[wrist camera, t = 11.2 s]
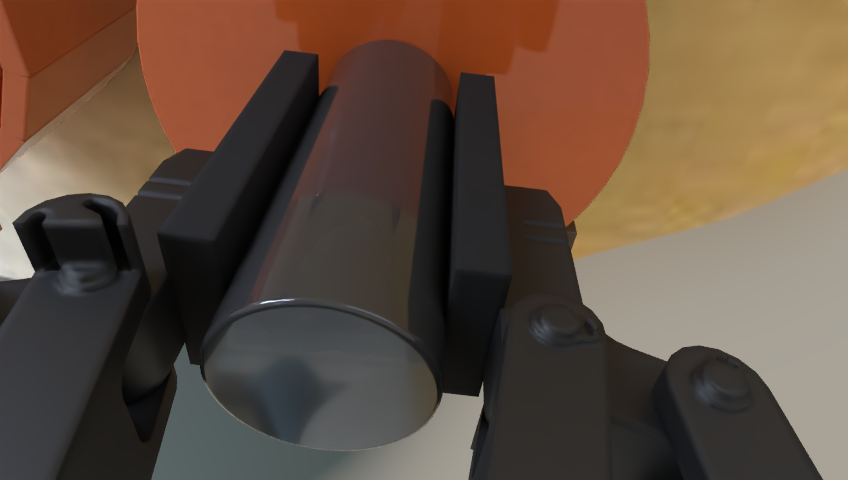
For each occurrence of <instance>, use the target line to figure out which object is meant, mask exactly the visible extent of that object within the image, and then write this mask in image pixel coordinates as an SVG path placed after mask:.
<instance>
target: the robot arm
mask: <svg viewBox="0 0 848 480" xmlns="http://www.w3.org/2000/svg"><path fill="white" fill-rule="evenodd" d="M318 98H319V55H318V54H313V53H305V52H297V51H289V50H284V51H283V53H282V54H281V56H280V57H279V59H278V60H277V61H276V63H275V64H274V66H273V67H272V69H271V70H270V72H269V73H268V74H267V76H266V77H265V79H264V80H263V82H262V83H261V84H260V86H259V87H258V89H257V90H256V92H255V93H254V94H253V96H252V97H251V99H250V100H249V102H248V103H247V104H246V106H245V107H244V109H243V110H242V112H241V113H240V115H239V116H238V117H237V119H236V120H235V122H234V123H233V125H232V126H231V127H230V129H229V130H228V132H227V133H226V135H225V136H224V137H223V139H222V140H221V142H220V143H219V145H218V146H217V148H216V149H215V150H214V152H213V151H205V150H197V149H189V148H185V149H184V150H182V151H180V152H178V153H177V154H175V155H173V156H172V157H170V158H168V159H166V160H165V161H163V162H162V163H161V165H160V166H159V167H158V168H157V169H156V171H155V172H154V173H153V174H152V176H151V177H150V180H149V182H148V181H147V182H146V183H145V184H144V185H143V187H142V188H141V189H140V190H139V192H138V196H137V195H135V196H134V198H133V199H132V200H131V201H130V203H129V204H128V205H127V206H126V207H125V206H124V204H123V203H122V202H120V201H118V200H116V199H114V198H112V197H110V196H105V195H98V194H91V193H87V194H73V195H66V196H62V197H58V198H54V199H51V200H47V201H44V202H42V203H40V204H38V205H36V206H34V207H32V208H30V209H28V210H26V211H25V212H24V213H23V214H22V215H21V216H19V217H18V218H17V219H16V220H15V221H14V222H13V225H14V228H15V230H16V232H17V234H18V236H19V238H20V240H21V243H22V245H23V247H24V249H25V251H26V253H27V255H28V258H29V260H30V262H31V264H32V266H33V268H34V270H35V273H34V275H33V276H32V278H27V279H20V280H11V281H2V282H0V480H151V478H152V474H153V471H154V467H155V464H156V460H157V456H158V453H159V449H160V446H161V442H162V439H163V435H164V431H165V428H166V425H167V421H168V417H169V414H170V410H171V407H172V403H173V400H174V396H175V393H176V389H177V375H176V371H175V369H174V365H173V364H174V362H175V361H176V358H177V356H178V355H179V353H180V351H181V348H182V347H183V345H184V343H185V344H186V348H187V352H188V356H189V360H190V364H195V365H200V360H199V358H200V348H201V345H202V341H203V338H204V336H205V334H206V332H207V330H208V328H209V326H210V324H211V322H212V320H213V318H214V316H215V313H216V311H217V309H218V307H219V305H220V303H221V301H222V299H223V297H224V295H225V293H226V290H227V288H228V286H229V284H230V282H231V280H232V278H233V276H234V274H235V272H236V270H237V267H238V265H239V263H240V261H241V259H242V257H243V255H244V253H245V251H246V249H247V247H248V245H249V242H250V240H251V238H252V236H253V234H254V232H255V230H256V228H257V226H258V224H259V222H260V219H261V217H262V215H263V213H264V211H265V209H266V207H267V205H268V203H269V201H270V199H271V197H272V194H273V192H274V190H275V188H276V186H277V184H278V182H279V180H280V178H281V176H282V174H283V171H284V169H285V167H286V165H287V163H288V161H289V159H290V157H291V155H292V153H293V151H294V148H295V146H296V144H297V142H298V140H299V138H300V136H301V134H302V132H303V130H304V128H305V126H306V123H307V121H308V119H309V117H310V115H311V113H312V111H313V109H314V107H315V105H316V103H317V100H318ZM568 243H569V240H568V236H567V231H566V230H565V222H564V218H563V213H562V209H561V207H560V205H559V204H558V203H557V202H556V201H555V199H554V198H553V197H552V196H551V195H550V193H549V192H548V191H547V190H541V189H533V188H525V187H517V186H508V185H504V176H503V165H502V154H501V143H500V133H499V122H498V111H497V100H496V89H495V79H494V76H488V75H480V74H472V73H464V72H461V74H460V80H459V87H458V93H457V100H456V107H455V113H454V122H453V146H452V171H451V195H450V219H449V244H448V268H447V293H446V317H445V353H444V379H443V393H451V394H459V395H468V396H477V397H478V396H479V393H480V390H481V386H482V383H483V391H484V405H483V408H482V412H481V415H480V418H479V421H478V425H477V428H476V432H475V435H474V438H473V442H472V445H471V449H473V456H472V462H471V468H470V474H469V480H823V479H822V477H821V476H820V474H819V472H818V471H817V469H816V467H815V465H814V464H813V462H812V460H811V459H810V457H809V455H808V454H807V452H806V450H805V448H804V447H803V445H802V443H801V442H800V440H799V438H798V437H797V435H796V433H795V432H794V430H793V428H792V426H791V425H790V423H789V421H788V420H787V418H786V416H785V414H784V413H783V411H782V409H781V408H780V406H779V404H778V403H777V401H776V399H775V397H774V396H773V394H772V392H771V391H770V389H769V388H768V386H767V385H766V384H765V383H764V382H763V380H762V379H761V378H760V377H759V375H758V374H757V373H756V372H755V371H754V370H752V369H751V368H750V367H748V366H747V365H746V364H744V363H743V362H742V361H741V360H739V359H738V358H736V357H733V356H731V355H729V354H727V353H725V352H723V351H721V350H719V349H714V348H709V347H704V346H691V347H683V348H681V349H680V350H678V351H677V352H675V353H674V354H672V355H671V357H670V358H669V360H668V361H664V360H662V359H659V358H656V357H653V356H651V355H648V354H646V353H643V352H640V351H638V350H635V349H632V348H630V347H628V346H625V345H623V344H621V343H619V342H617V341H615V340H614V339H612V338H611V337H609V336H608V335H606V334H605V330H604V327H603V324H602V322H601V321H600V320H599V319H598V317H597V316H596V315H595V314H594V313H593V311H592V310H590V309H589V308H588V307H586V306H585V305H583V303H582V298H581V294H580V289H579V285H578V280H577V276H576V271H575V267H574V262H573V258H572V253H571V249H570V245H568Z"/></svg>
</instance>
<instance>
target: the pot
mask: <svg viewBox="0 0 848 480" xmlns="http://www.w3.org/2000/svg"><path fill="white" fill-rule="evenodd" d="M136 4H137V0H0V173H1V172H3V171H4V170H5V169H6V168H7V167H9V166H10V165H11V164H12V163H13V162H15V161H16V160H17V159H18V158H19V157H21V156H22V155H23V154H24V153H25V152H27V151H28V150H29V149H30V148H31V147H33V146H34V145H35V144H36V143H37V142H39V141H40V140H41V139H42V138H43V137H45V136H46V135H47V134H48V133H49V132H51V131H52V130H53V129H54V128H56V127H57V126H58V125H59V124H60V123H62V122H63V121H64V120H65V119H66V118H68V117H69V116H70V115H71V114H72V113H74V112H75V111H76V110H77V109H78V108H80V107H81V106H82V105H83V104H84V103H86V102H87V101H88V100H89V99H90V98H92V97H93V96H94V95H95V94H96V93H98V92H99V91H100V90H101V89H102V88H104V87H105V86H106V84H107V83H108V82H109V81H110V80H111V79H112V78H113V77H114V76H115V75H116V74H117V73H118V72H119V71H120V70H121V69H122V68H123V67H124V66H125V65H126V64H127V62H128V61H129V60H130V58H131V57H132V56H133V54H134V52H135V50H136V48H137V46H138V42H137V14H136ZM1 230H2V227H1V225H0V231H1Z"/></svg>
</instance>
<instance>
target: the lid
mask: <svg viewBox="0 0 848 480" xmlns="http://www.w3.org/2000/svg"><path fill="white" fill-rule="evenodd" d="M136 14H137V42H138V48H139V54H140V61H141V67H142V72H143V76H144V79H145V83H146V86H147V90H148V93H149V96H150V100H151V103H152V105H153V107H154V110H155V112H156V114H157V117H158V119H159V121H160V124H161V126H162V128H163V131H164V132H165V134H166V136H167V138H168V139H169V141H170V143H171V145H172V146H173V148H174V150H175V152H176V153H178V152H180V151H182V150H184V149H185V148H189V149H197V150H205V151H213V152H214V150H215V149H216V148H217V146H218V145H219V143H220V142H221V140H222V139H223V137H224V136H225V135H226V133H227V132H228V130H229V129H230V127H231V126H232V125H233V123H234V122H235V120H236V119H237V117H238V116H239V115H240V113H241V112H242V110H243V109H244V107H245V106H246V104H247V103H248V102H249V100H250V99H251V97H252V96H253V94H254V93H255V92H256V90H257V89H258V87H259V86H260V84H261V83H262V82H263V80H264V79H265V77H266V76H267V74H268V73H269V72H270V70H271V69H272V67H273V66H274V64H275V63H276V61H277V60H278V59H279V57H280V56H281V54H282V53H283V51H284V50H289V51H297V52H305V53H313V54H318V55H319V98H318V100H317V103H316V105H315V107H314V109H313V111H312V113H311V115H310V117H309V119H308V121H307V123H306V126H305V128H304V130H303V132H302V134H301V136H300V138H299V140H298V142H297V144H296V146H295V148H294V151H293V153H292V155H291V157H290V159H289V161H288V163H287V165H286V167H285V169H284V171H283V174H282V176H281V178H280V180H279V182H278V184H277V186H276V188H275V190H274V192H273V194H272V197H271V199H270V201H269V203H268V205H267V207H266V209H265V211H264V213H263V215H262V217H261V219H260V222H259V224H258V226H257V228H256V230H255V232H254V234H253V236H252V238H251V240H250V242H249V245H248V247H247V249H246V251H245V253H244V255H243V257H242V259H241V261H240V263H239V265H238V267H237V270H236V272H235V274H234V276H233V278H232V280H231V282H230V284H229V286H228V288H227V290H226V293H225V295H224V297H223V299H222V301H221V303H220V305H219V307H218V309H217V311H216V313H215V316H214V318H213V320H212V322H211V324H210V326H209V328H208V330H207V332H206V334H205V336H204V338H203V341H202V345H201V348H200V358H199V360H200V369H201V374H202V377H203V380H204V383H205V385H206V386H207V388H208V390H209V392H210V393H211V394H212V396H213V397H214V398H215V400H216V401H217V402H218V403H219V404H220V405H221V406H222V407H223V408H224V409H225V410H226V411H227V412H229V413H230V414H231V415H232V416H233V417H235V418H236V419H238V420H239V421H241V422H242V423H244V424H245V425H247V426H249V427H251V428H253V429H254V430H256V431H258V432H260V433H263V434H265V435H267V436H269V437H273V438H275V439H278V440H280V441H284V442H287V443H291V444H294V445H298V446H303V447H307V448H314V449H320V450H332V451H356V450H366V449H373V448H378V447H383V446H387V445H390V444H393V443H396V442H399V441H401V440H403V439H405V438H407V437H409V436H411V435H413V434H414V433H416V432H418V431H419V430H420V429H421V428H422V427H424V426H425V425H426V424H427V423H428V422H429V420H430V419H431V418H432V417H433V415H434V413H435V412H436V410H437V408H438V406H439V404H440V401H441V398H442V393H443V379H444V353H445V317H446V293H447V268H448V244H449V219H450V195H451V171H452V146H453V122H454V113H455V107H456V100H457V93H458V87H459V80H460V74H461V72H464V73H472V74H480V75H488V76H494V79H495V89H496V100H497V111H498V122H499V133H500V143H501V154H502V165H503V176H504V185H508V186H517V187H525V188H533V189H541V190H547V191H548V192H549V193H550V195H551V196H552V197H553V198H554V199H555V201H556V202H557V203H558V204H559V205H560V207H561V209H562V213H563V218H564V222H565V227H566V226H568V225H569V224H570V223H571V222H572V221H573V220H574V219H575V218H576V217H577V216H578V215H579V214H580V213H581V212H583V211H584V210H585V209H586V208H587V207H588V206H589V204H590V203H591V202H592V201H593V200H594V198H595V197H596V196H597V195H598V193H599V192H600V191H601V190H602V189H603V187H604V186H605V185H606V183H607V182H608V180H609V179H610V177H611V176H612V174H613V172H614V171H615V169H616V168H617V166H618V164H619V163H620V161H621V160H622V157H623V155H624V153H625V151H626V149H627V147H628V144H629V142H630V140H631V138H632V136H633V134H634V131H635V128H636V125H637V122H638V118H639V115H640V112H641V109H642V105H643V102H644V96H645V91H646V85H647V79H648V73H649V50H650V32H649V24H648V15H647V6H646V0H137V4H136Z"/></svg>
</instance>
